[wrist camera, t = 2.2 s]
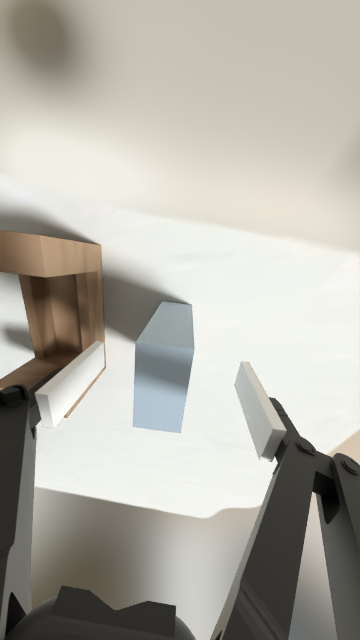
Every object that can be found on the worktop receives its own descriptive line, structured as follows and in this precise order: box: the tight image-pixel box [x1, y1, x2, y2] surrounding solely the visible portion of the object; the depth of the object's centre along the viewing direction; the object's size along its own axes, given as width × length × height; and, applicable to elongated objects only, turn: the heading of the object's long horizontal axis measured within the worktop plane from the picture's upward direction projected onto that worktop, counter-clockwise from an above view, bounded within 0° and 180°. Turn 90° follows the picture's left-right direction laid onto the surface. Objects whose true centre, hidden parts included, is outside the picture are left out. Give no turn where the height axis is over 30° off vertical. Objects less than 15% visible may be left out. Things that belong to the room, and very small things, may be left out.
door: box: [133, 301, 194, 433], centre depth 18 cm, size 4×8×12 cm, turn 173°
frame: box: [0, 230, 106, 418], centre depth 20 cm, size 8×18×9 cm, turn 173°
